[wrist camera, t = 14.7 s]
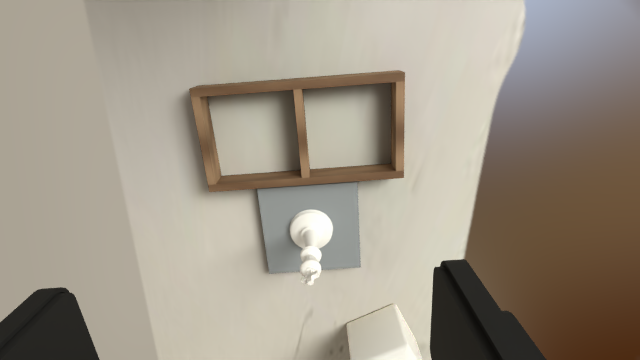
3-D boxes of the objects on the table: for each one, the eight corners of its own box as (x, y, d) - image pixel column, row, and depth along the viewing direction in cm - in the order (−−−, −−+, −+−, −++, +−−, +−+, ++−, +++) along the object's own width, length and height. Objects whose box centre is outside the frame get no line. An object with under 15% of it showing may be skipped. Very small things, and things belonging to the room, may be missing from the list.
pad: (258, 186, 41) (257, 189, 40) (356, 178, 41) (357, 182, 40) (270, 268, 45) (269, 273, 44) (359, 262, 45) (360, 267, 44)
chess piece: (281, 222, 41) (271, 275, 32) (318, 201, 40) (319, 249, 31) (304, 254, 43) (302, 313, 33) (340, 234, 42) (348, 290, 33)
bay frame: (197, 85, 37) (189, 88, 34) (399, 70, 36) (404, 72, 34) (215, 183, 41) (209, 191, 38) (398, 169, 40) (403, 177, 38)
